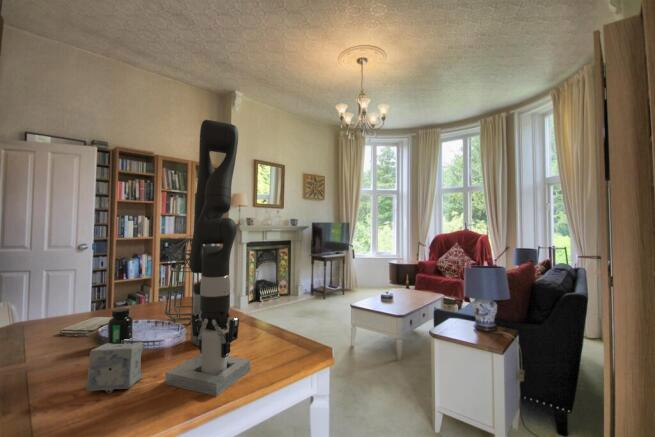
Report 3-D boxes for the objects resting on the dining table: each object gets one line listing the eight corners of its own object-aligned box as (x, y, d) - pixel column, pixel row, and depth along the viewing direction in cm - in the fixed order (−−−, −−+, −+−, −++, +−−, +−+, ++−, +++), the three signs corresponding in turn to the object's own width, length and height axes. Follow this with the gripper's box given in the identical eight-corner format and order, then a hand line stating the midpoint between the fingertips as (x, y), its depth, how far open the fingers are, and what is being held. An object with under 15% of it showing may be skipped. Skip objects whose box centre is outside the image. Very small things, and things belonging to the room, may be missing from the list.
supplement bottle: (118, 351, 101) (118, 313, 101) (102, 348, 103) (103, 311, 104) (137, 343, 108) (137, 308, 108) (122, 340, 110) (122, 306, 110)
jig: (165, 384, 81) (165, 372, 81) (204, 361, 94) (204, 351, 94) (216, 396, 75) (216, 383, 76) (250, 370, 89) (250, 360, 89)
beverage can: (218, 380, 81) (219, 332, 81) (196, 377, 82) (196, 330, 82) (231, 368, 87) (231, 325, 87) (210, 366, 88) (210, 323, 88)
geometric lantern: (173, 316, 138) (176, 236, 139) (210, 316, 140) (213, 237, 141) (157, 328, 122) (162, 238, 123) (199, 328, 124) (203, 239, 125)
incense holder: (143, 376, 85) (144, 337, 85) (129, 393, 77) (130, 350, 77) (103, 379, 83) (104, 339, 83) (84, 396, 75) (85, 352, 75)
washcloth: (56, 337, 114) (56, 329, 114) (95, 321, 131) (95, 314, 132) (88, 338, 113) (88, 329, 113) (123, 322, 131) (123, 315, 131)
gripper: (183, 292, 84) (182, 356, 83) (228, 297, 79) (227, 365, 78) (203, 287, 91) (202, 345, 90) (246, 291, 86) (245, 353, 85)
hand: (214, 354), depth 84 cm, fingers closed on beverage can, 6 cm apart
